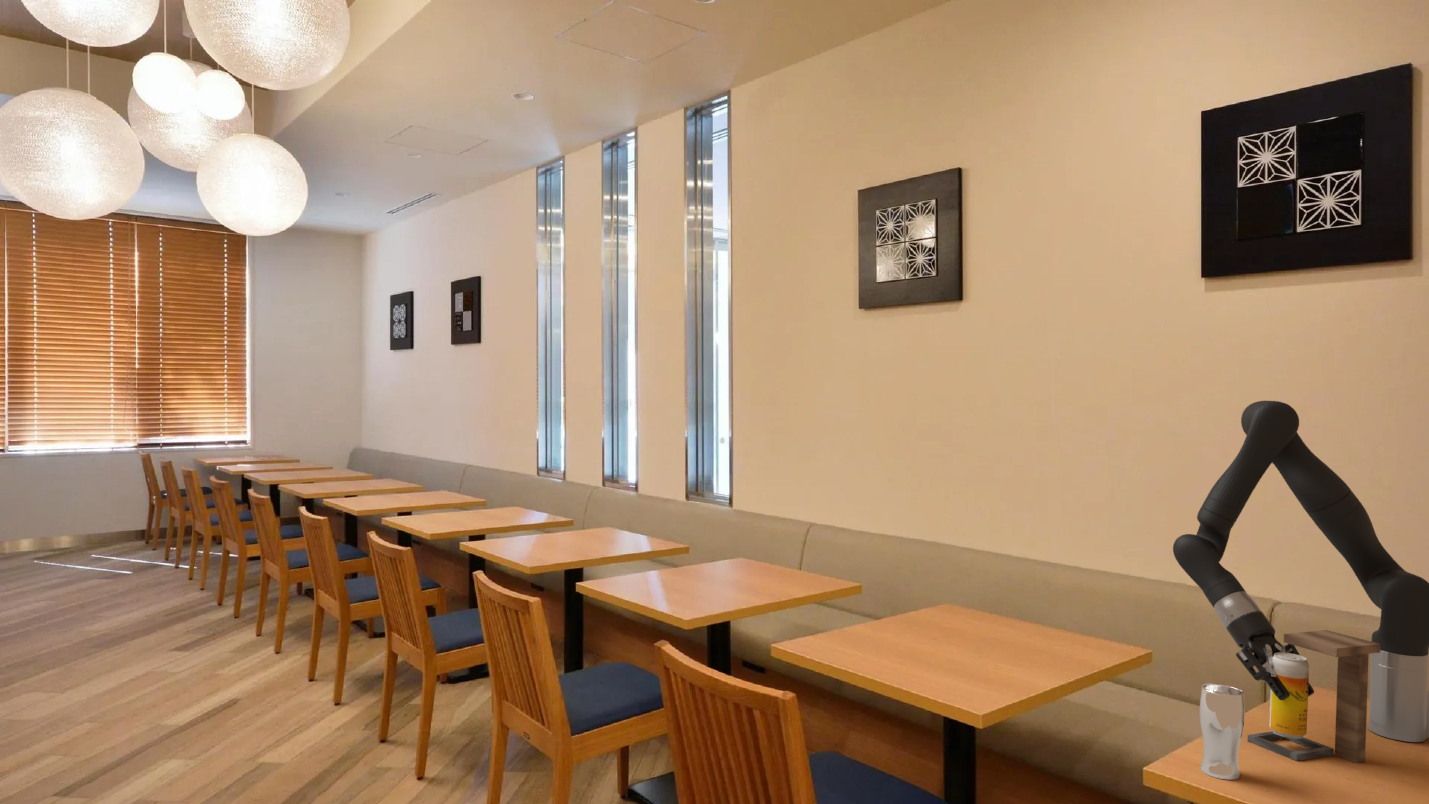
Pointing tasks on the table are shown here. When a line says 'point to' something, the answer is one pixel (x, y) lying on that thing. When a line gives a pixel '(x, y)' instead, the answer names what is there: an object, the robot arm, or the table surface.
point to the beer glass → (1221, 729)
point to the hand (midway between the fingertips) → (1297, 696)
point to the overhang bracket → (1348, 701)
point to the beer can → (1292, 711)
